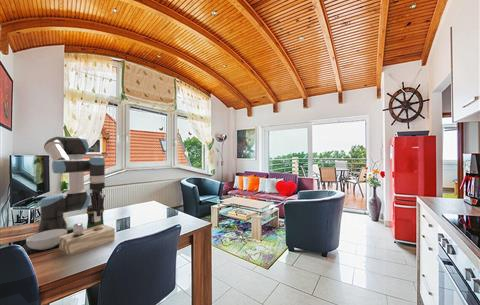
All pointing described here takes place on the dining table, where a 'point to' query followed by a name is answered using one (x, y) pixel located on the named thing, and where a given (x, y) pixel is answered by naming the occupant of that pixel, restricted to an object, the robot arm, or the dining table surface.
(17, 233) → the dining table surface
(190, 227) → the dining table surface
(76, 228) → the metal peg
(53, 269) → the dining table surface
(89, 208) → the coffee jar
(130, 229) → the dining table surface
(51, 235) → the cereal bowl
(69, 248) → the birch block
